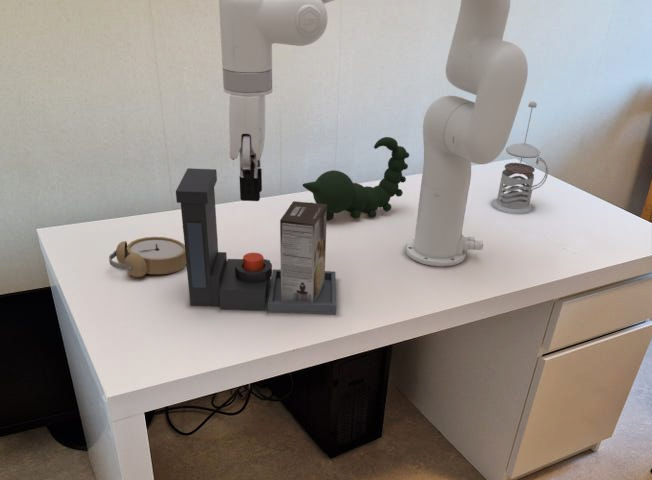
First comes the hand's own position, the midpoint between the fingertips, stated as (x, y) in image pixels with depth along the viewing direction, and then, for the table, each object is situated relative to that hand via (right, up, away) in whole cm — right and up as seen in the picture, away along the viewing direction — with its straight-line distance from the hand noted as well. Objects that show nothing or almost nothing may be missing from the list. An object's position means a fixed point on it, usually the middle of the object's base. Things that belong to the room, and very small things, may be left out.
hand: (251, 194), depth 112 cm
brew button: (-1, -11, +8) cm, 14 cm away
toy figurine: (+18, +6, +44) cm, 48 cm away
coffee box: (+8, -16, +11) cm, 21 cm away
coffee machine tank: (-10, -16, +11) cm, 21 cm away
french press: (+59, +10, +53) cm, 80 cm away
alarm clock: (-22, -10, +19) cm, 31 cm away
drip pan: (+8, -16, +11) cm, 21 cm away
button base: (-2, -16, +11) cm, 19 cm away
